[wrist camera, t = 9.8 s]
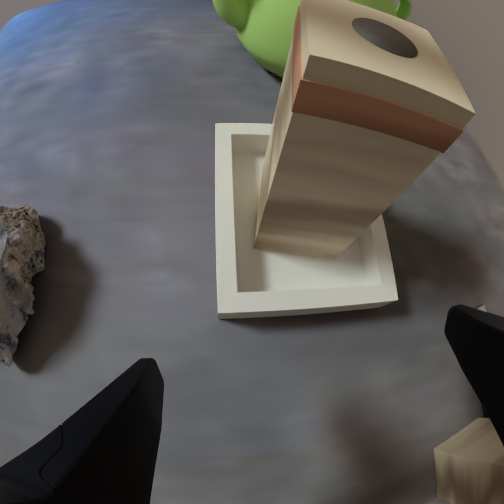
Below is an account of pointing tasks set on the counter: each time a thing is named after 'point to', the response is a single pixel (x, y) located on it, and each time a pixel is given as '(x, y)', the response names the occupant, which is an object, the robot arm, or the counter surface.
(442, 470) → the block
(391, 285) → the tray
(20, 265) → the mineral specimen
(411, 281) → the counter surface
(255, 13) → the teapot
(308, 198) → the block
